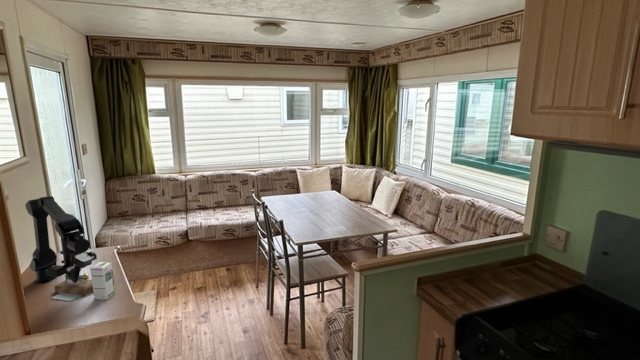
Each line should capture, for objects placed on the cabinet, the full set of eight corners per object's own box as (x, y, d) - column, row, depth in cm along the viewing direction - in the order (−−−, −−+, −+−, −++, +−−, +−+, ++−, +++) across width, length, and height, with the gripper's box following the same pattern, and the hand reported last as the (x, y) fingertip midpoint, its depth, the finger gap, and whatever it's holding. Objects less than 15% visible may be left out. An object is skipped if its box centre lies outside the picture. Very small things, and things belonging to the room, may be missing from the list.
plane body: (55, 291, 152) (54, 285, 151) (71, 283, 160) (70, 277, 159) (85, 296, 148) (84, 289, 148) (100, 287, 156) (100, 281, 155)
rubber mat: (51, 298, 146) (51, 297, 146) (62, 293, 151) (62, 292, 151) (70, 301, 144) (70, 300, 144) (81, 295, 149) (81, 295, 149)
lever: (64, 282, 154) (63, 272, 153) (68, 280, 156) (67, 270, 155) (86, 285, 151) (85, 275, 150) (90, 283, 153) (89, 273, 152)
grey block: (67, 284, 152) (66, 279, 151) (76, 280, 156) (75, 275, 156) (78, 286, 151) (77, 281, 150) (87, 281, 155) (86, 276, 154)
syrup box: (107, 299, 146) (103, 267, 143) (93, 299, 146) (89, 267, 143) (115, 293, 151) (112, 261, 149) (102, 292, 151) (98, 261, 149)
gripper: (65, 258, 133) (70, 296, 136) (105, 241, 151) (109, 274, 154) (42, 255, 136) (47, 292, 138) (84, 239, 153) (88, 272, 156)
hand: (75, 282), depth 147 cm, fingers closed
